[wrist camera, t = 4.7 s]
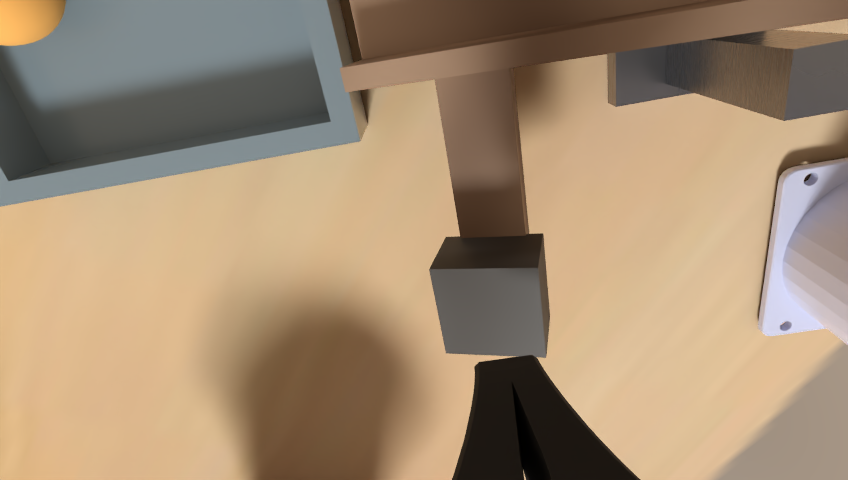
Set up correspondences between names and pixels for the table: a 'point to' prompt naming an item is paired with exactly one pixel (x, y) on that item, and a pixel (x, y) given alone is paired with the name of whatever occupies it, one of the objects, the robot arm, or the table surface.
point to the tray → (171, 91)
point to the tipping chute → (517, 125)
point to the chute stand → (740, 72)
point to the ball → (28, 20)
